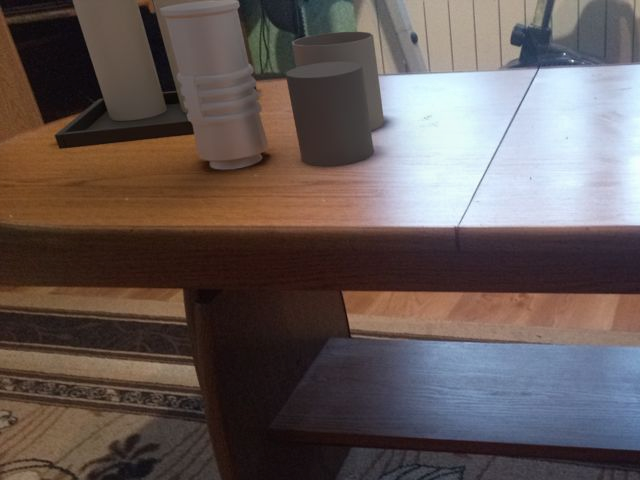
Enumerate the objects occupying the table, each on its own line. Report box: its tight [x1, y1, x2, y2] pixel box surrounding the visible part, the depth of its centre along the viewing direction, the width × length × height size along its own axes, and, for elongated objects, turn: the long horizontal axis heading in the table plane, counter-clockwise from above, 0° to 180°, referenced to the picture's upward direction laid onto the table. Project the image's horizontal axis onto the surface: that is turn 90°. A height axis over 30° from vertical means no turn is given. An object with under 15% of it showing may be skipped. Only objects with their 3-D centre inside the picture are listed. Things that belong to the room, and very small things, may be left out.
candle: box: [160, 0, 269, 170], centre depth 69 cm, size 7×7×15 cm
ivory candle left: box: [72, 0, 167, 121], centre depth 91 cm, size 7×7×15 cm
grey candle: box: [285, 62, 375, 168], centre depth 70 cm, size 7×7×9 cm
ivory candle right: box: [152, 0, 213, 113], centre depth 92 cm, size 7×7×15 cm
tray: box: [54, 85, 258, 149], centre depth 91 cm, size 21×19×2 cm
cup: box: [291, 31, 385, 132], centre depth 79 cm, size 8×8×10 cm
